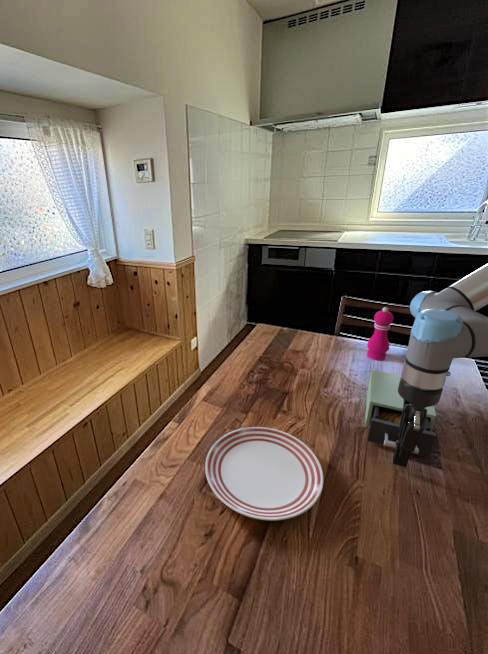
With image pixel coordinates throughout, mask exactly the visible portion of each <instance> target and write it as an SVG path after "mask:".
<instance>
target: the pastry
mask: <svg viewBox="0 0 488 654" xmlns="http://www.w3.org/2000/svg"><path fill="white" fill-rule="evenodd" d="M401 415H402V414H396V413H394V412H389V411H381V412H379V413H378V419H380V420H384V421H388V422H392V423H396V424H400V420H401Z"/></svg>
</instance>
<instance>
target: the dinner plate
mask: <svg viewBox="0 0 488 654" xmlns="http://www.w3.org/2000/svg"><path fill="white" fill-rule="evenodd" d="M204 471H205V476H206V480H207V482H208V483H207V484H208V485H209V487H210V489H211V491H212V492H213V493H214V495H215V496H216V498H218V500H220V501H221V502H222V503H223V504H224V505H225V506H227V508H229V509H231V510H232V511H234V512H236V513H238V514H240V515H241V516H245V517H248V518H250V519H255V520H259V521H260V520H261V521H271V522H272V521H284V520H285V521H286V520H288V519H292V518H295V517H298V516H301V515H302V514H304V513H306V512H307V511H309V510H310V509H311V508H312V507H313V506H314V505H315V504H316V503H317V502H318V500H319V498H320V496H321V494H322V492H323V487H324V473H323V472H324V471H323V467H322V465H321V463H320V461H319V459H318V457H317V456H316V454H315V453H314V452H313V450H312V449H311V448H310V447H309V446H308V445H307V444H305V443H304V442H303V441H302V440H301V439H299V438H297V437H295V436H294V435H292V434H290V433H288V432H285V431H283V430H279V429H276V428H272V427H265V426H248V427H241V428H238V429H235V430H232V431H230V432H227V433H226V434H224V435H222V436H221V437H220V438H218V439H217V440H216V441H215V442H214V443H213V444H212V446H211V447H210V448H209V451H208V453H207V455H206V459H205V464H204Z"/></svg>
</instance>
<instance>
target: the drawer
mask: <svg viewBox="0 0 488 654" xmlns="http://www.w3.org/2000/svg"><path fill="white" fill-rule="evenodd" d="M381 411H389V412H394V413H396V414H402V411H399V410H394V409H390V408H385V407H381V406H376V405H373V409H372V418H371V423H370V428H369V427H368V429H369V430H368V433H367V437H366V441H367V442H370V443H373V444H378V445H381V446H385V447H389V448H393V449H396V440H397V441H398V439H400V438H399V436H398V434H399V432H400V431H399V429H398V428H399V425H400V424H396V423H392V422H388V421H384V420H380V419H378V413H379V412H381ZM422 425H424V427H425V429H424V431H423V432H422V433H421V435H420V438H419V440H418V443H417V445H416V448H415V451H414V452H411V453H410V454H414V455H417V456H423V457H426V458H430V457H431V453H432V450H433V447H434V444H435V441H436V438H437V433H436V432H434V431H432V432H430V424H429V418H428V417H424V420H423V423H422Z"/></svg>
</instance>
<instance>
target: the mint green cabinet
mask: <svg viewBox="0 0 488 654" xmlns="http://www.w3.org/2000/svg"><path fill="white" fill-rule="evenodd" d="M401 377H402V376H401V374H396V373H391V372H385V371H382V370H381V371H380V370H376V369H375V370H374V369H371V371H370V375H369V381H368V385H367V389H366V390H367V391H366V399H365V401H366V402H365V403H366V404H365V421H364V427H365V428H368V429H369V428H370V423H371V418H372V409H373V405H376V406H381V407H385V408H390V409H394V410H399V411H402V410H403V405H404V403H403V401H404V399H403V398H402V397H401V396H400V395H399V393H398V387H399V383H400V379H401ZM425 409H427V414H426V417H428V418H429V424H430V432H433V428H434V425H435V422H436V418H437V413H436V408H435V405H434V406H430V407H426V408H425Z"/></svg>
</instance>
